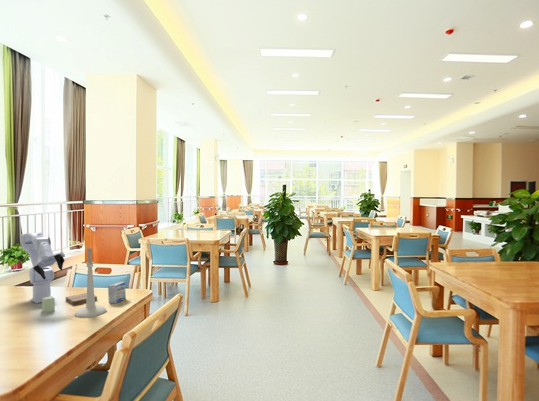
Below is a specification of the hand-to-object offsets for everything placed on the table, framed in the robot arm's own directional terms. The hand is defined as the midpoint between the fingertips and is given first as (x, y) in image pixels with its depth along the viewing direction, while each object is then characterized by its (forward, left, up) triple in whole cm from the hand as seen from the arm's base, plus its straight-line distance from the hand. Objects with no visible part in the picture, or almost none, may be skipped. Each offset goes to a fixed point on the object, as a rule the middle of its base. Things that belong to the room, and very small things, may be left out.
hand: (52, 273), depth 164 cm
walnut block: (-5, +14, -18) cm, 23 cm away
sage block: (0, -2, -17) cm, 17 cm away
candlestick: (+18, +10, -17) cm, 27 cm away
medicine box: (+9, +26, -17) cm, 33 cm away
